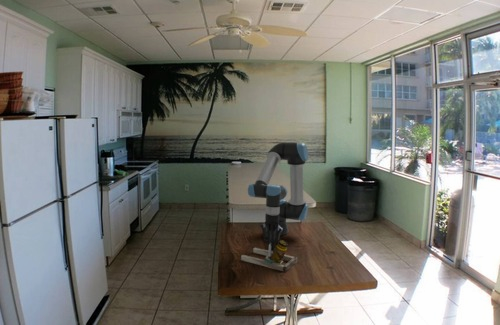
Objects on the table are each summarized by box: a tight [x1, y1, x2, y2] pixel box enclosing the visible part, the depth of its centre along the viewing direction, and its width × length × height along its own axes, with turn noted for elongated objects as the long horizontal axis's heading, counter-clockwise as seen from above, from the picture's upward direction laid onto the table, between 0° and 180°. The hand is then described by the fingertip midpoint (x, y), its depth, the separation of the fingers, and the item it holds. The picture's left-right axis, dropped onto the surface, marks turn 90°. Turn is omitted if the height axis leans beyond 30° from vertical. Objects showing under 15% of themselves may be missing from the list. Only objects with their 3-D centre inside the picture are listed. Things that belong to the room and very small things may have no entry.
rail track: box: [240, 247, 298, 273], centre depth 176 cm, size 15×27×3 cm, turn 59°
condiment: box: [265, 239, 289, 264], centre depth 172 cm, size 7×8×12 cm
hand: (270, 255), depth 174 cm, fingers closed
